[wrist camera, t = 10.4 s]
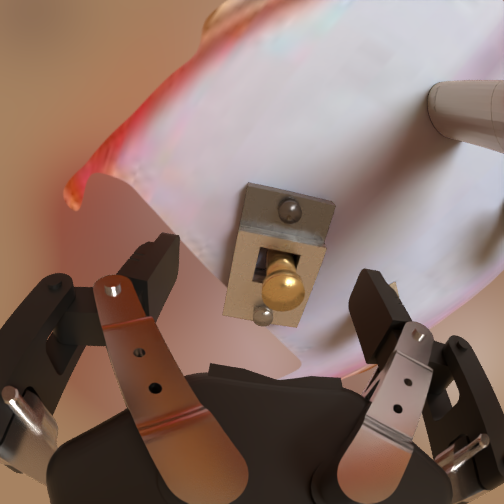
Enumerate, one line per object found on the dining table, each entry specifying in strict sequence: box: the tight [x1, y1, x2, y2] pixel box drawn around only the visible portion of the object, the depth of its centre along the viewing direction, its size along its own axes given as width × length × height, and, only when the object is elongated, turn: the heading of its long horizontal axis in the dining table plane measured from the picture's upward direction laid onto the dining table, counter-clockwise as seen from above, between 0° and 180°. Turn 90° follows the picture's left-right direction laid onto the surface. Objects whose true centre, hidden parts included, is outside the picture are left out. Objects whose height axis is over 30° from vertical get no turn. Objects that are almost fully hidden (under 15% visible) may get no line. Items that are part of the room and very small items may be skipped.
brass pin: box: [262, 249, 305, 312], centre depth 37 cm, size 5×5×10 cm
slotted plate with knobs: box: [223, 182, 336, 328], centre depth 39 cm, size 12×20×6 cm, turn 168°
